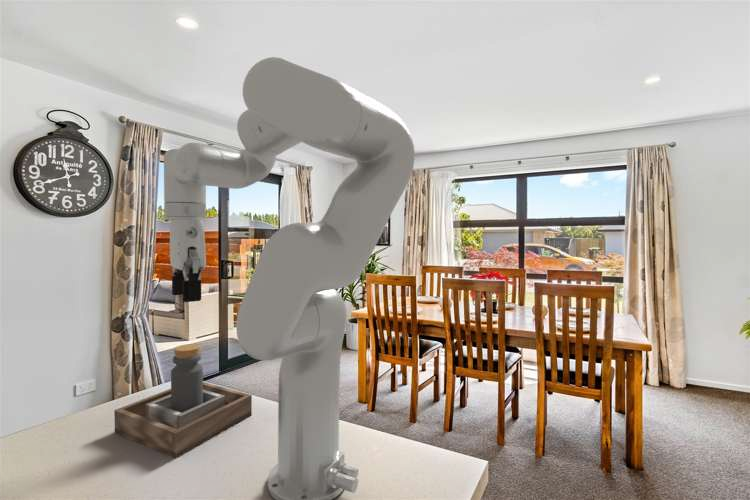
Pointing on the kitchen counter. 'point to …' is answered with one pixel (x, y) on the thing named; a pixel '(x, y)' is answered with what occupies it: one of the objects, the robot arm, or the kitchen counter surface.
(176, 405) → the bottle
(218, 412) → the walled box
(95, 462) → the kitchen counter surface
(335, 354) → the robot arm
